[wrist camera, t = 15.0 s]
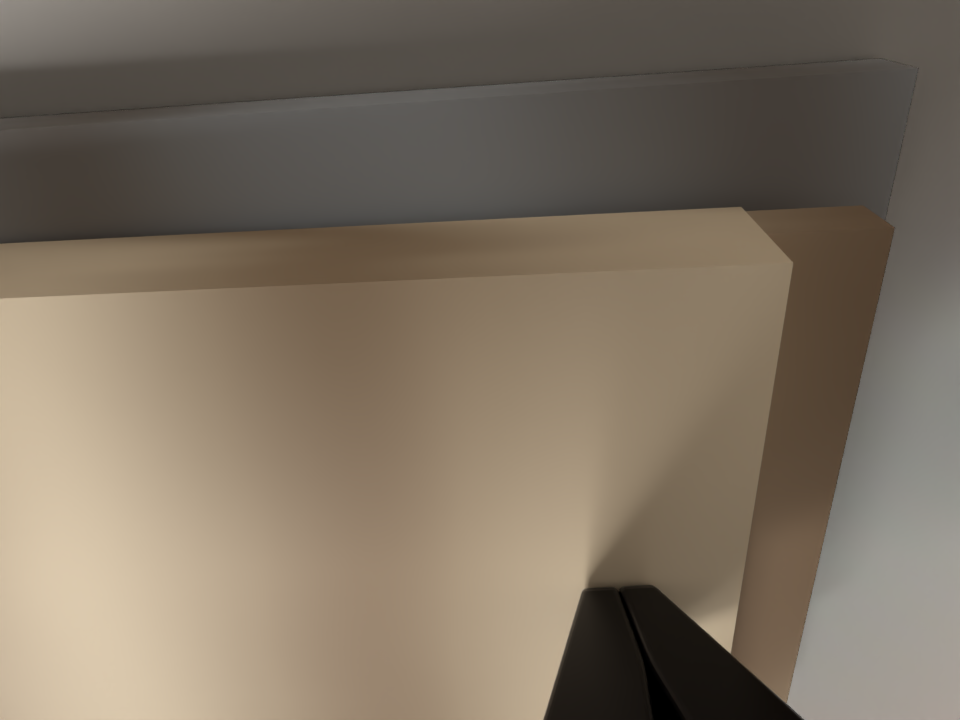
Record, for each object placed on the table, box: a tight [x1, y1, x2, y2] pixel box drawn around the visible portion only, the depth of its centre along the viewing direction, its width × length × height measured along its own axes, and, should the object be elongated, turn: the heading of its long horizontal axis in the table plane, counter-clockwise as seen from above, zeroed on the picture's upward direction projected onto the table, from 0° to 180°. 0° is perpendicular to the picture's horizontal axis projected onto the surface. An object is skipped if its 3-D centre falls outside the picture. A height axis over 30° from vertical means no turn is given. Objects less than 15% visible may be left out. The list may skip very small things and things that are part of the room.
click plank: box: [0, 205, 895, 720], centre depth 9 cm, size 11×9×2 cm
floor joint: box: [0, 59, 918, 244], centre depth 10 cm, size 20×12×2 cm, turn 94°
